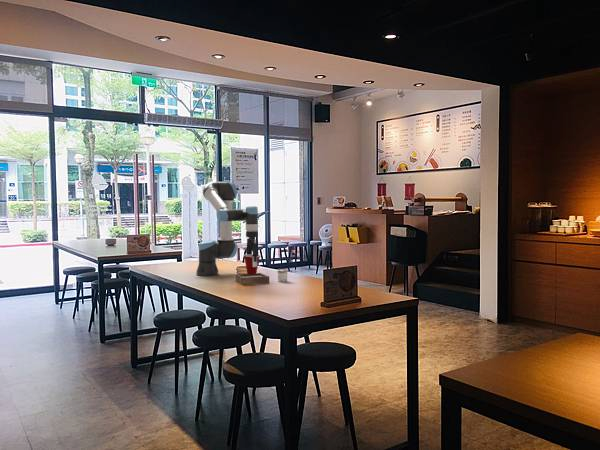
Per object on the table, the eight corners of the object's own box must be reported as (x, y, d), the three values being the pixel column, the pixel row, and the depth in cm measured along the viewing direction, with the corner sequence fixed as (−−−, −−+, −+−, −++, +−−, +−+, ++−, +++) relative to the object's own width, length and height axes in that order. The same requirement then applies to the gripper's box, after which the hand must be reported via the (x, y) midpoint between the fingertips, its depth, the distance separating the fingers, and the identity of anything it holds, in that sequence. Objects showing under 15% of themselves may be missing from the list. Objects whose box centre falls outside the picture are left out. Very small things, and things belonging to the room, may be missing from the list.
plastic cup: (259, 274, 317) (259, 255, 316) (242, 274, 317) (242, 255, 317) (261, 272, 328) (261, 253, 327) (244, 272, 328) (244, 253, 327)
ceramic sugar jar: (276, 280, 328) (276, 269, 328) (285, 280, 331) (285, 269, 330) (279, 282, 322) (279, 271, 322) (289, 281, 324) (289, 270, 324)
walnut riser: (235, 280, 327) (235, 274, 327) (260, 279, 334) (260, 272, 334) (243, 285, 312) (242, 278, 311) (269, 283, 318) (269, 276, 318)
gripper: (263, 231, 312) (263, 267, 313) (252, 229, 333) (252, 263, 334) (251, 232, 309) (251, 268, 310) (241, 229, 330) (241, 263, 332)
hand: (252, 265), depth 322 cm, fingers closed on plastic cup, 11 cm apart
